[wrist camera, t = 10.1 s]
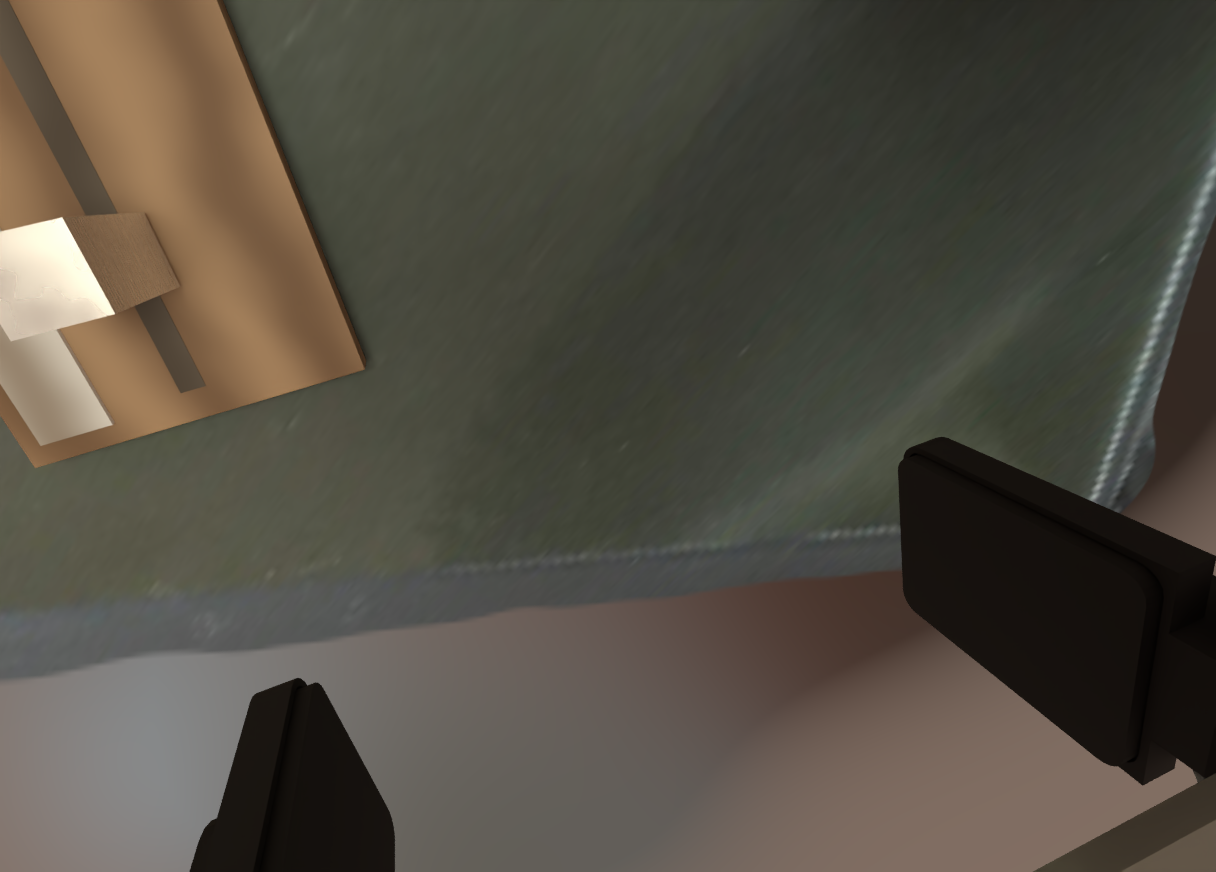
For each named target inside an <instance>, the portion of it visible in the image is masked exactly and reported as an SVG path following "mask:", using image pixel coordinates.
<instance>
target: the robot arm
mask: <svg viewBox="0 0 1216 872" xmlns="http://www.w3.org/2000/svg"><path fill="white" fill-rule="evenodd" d="M898 480H899V503H900V527H901V551H902V572H903V573H902V574H903V591H904V596H905V598H906V600H907V602H908V604H909V606H910V607H911V608H912V609H913V610H914V611H915V612H916V613H917V614H918V615H919V616H921V617H922V618H923V619H924V620H926V621H927V622H928V623H929V624H931V625H932V626H933V627H934V628H936V629H937V630H938V631H939V632H940V633H942V634H943V635H944V636H945V637H947V638H948V639H949V640H951V641H952V642H953V643H954V644H955V645H957V646H958V647H959V648H960V649H962V650H963V651H964V652H965V653H967V654H968V655H969V656H971V657H972V658H973V659H974V660H975V661H977V662H978V663H979V664H980V665H982V666H983V667H984V668H985V669H987V670H988V671H989V672H990V673H992V674H993V675H994V676H996V677H997V678H998V679H999V680H1000V681H1002V682H1003V683H1004V684H1005V685H1007V686H1008V687H1009V688H1010V689H1012V690H1013V691H1014V692H1015V693H1017V694H1018V695H1019V696H1020V697H1022V698H1023V699H1024V700H1025V701H1027V702H1028V703H1029V704H1030V705H1031V706H1033V707H1034V708H1035V709H1036V710H1038V711H1039V712H1040V713H1041V714H1043V715H1044V716H1045V717H1047V718H1048V719H1049V720H1050V721H1051V722H1053V723H1054V724H1055V725H1056V726H1058V727H1059V728H1060V729H1061V730H1063V731H1064V732H1065V733H1066V734H1068V735H1069V736H1070V737H1071V738H1073V739H1074V740H1075V741H1076V742H1078V743H1079V744H1080V745H1081V746H1083V747H1084V748H1085V749H1086V750H1087V751H1089V752H1090V753H1091V754H1092V755H1094V756H1095V757H1096V758H1098V759H1099V760H1101V761H1102V762H1103V763H1106V764H1108V765H1110V766H1119V767H1120V768H1121V769H1123V770H1124V771H1125V772H1127V773H1128V774H1129V775H1130V776H1131V777H1133V778H1134V779H1135V780H1136V781H1138V782H1139V783H1140V784H1141V785H1145V784H1147V783H1148V782H1150V781H1152V780H1154V779H1156V778H1158V777H1160V776H1161V775H1163V774H1165V773H1167V772H1169V771H1171V770H1173V769H1174V768H1175V762H1176V758H1177V759H1179V760H1180V761H1182V762H1183V763H1185V764H1186V765H1187V766H1188V767H1190V768H1191V769H1193V772H1194V774H1195V777H1196V779H1197V782H1198V783H1197V784H1195V785H1193V786H1191V787H1189V788H1188V789H1186V790H1184V791H1182V792H1180V793H1178V794H1176V795H1174V796H1173V797H1171V798H1169V799H1167V800H1165V801H1163V802H1162V803H1160V804H1158V805H1156V806H1154V807H1152V808H1150V809H1149V810H1147V811H1145V812H1143V813H1141V814H1139V815H1137V816H1135V817H1134V818H1132V819H1130V820H1128V821H1126V822H1125V823H1122V824H1121V825H1119V826H1117V827H1115V828H1113V829H1111V830H1110V831H1108V832H1106V833H1104V834H1102V835H1100V836H1099V837H1096V838H1095V839H1093V840H1091V841H1089V842H1087V843H1086V844H1084V845H1082V846H1080V847H1078V848H1076V849H1074V850H1072V851H1070V852H1069V853H1067V854H1065V855H1063V856H1061V857H1060V858H1057V859H1056V860H1054V861H1052V862H1050V863H1048V864H1046V865H1045V866H1043V867H1041V868H1039V869H1037V870H1035V871H1034V872H1216V576H1214V575H1213V571H1214V566H1215V561H1216V556H1215V555H1212V554H1210V553H1208V552H1205V551H1203V550H1201V549H1199V548H1196V547H1194V546H1192V545H1190V544H1187V543H1185V542H1183V541H1180V540H1178V539H1176V538H1173V537H1171V536H1169V535H1167V534H1165V533H1162V532H1160V531H1158V530H1155V529H1153V528H1151V527H1149V526H1146V525H1144V524H1142V523H1139V522H1137V521H1135V520H1133V519H1130V518H1128V517H1126V516H1124V515H1121V514H1119V513H1117V512H1115V511H1112V510H1110V509H1108V508H1106V507H1103V506H1101V505H1099V504H1096V503H1094V502H1092V501H1090V500H1087V499H1085V498H1083V497H1081V496H1078V495H1076V494H1074V493H1071V492H1069V491H1067V490H1065V489H1062V488H1060V487H1058V486H1056V485H1053V484H1051V483H1049V482H1046V481H1044V480H1042V479H1040V478H1037V477H1035V476H1033V475H1031V474H1028V473H1026V472H1024V471H1021V470H1019V469H1017V468H1015V467H1012V466H1010V465H1008V464H1006V463H1003V462H1001V461H999V460H996V459H994V458H992V457H990V456H987V455H985V454H983V453H981V452H978V451H976V450H974V449H972V448H969V447H967V446H965V445H962V444H960V443H958V442H956V441H953V440H951V439H949V438H945V437H938V438H935V439H932V440H929V441H927V442H924V443H921V444H919V445H916V446H913V447H911V448H909V449H908V450H906V452H905V454H904V459H903V460H902V461H901V462H900V464H899V466H898ZM190 872H395V835H394V827H393V822H392V818H391V815H390V812H389V810H388V808H387V806H386V804H385V802H384V800H383V799H382V797H381V795H380V793H379V791H378V789H377V788H376V785H375V784H374V782H373V780H372V778H371V776H370V774H369V772H368V771H367V769H366V767H365V765H364V763H363V761H362V759H361V758H360V756H359V754H358V752H357V750H356V748H355V746H354V745H353V743H352V741H351V739H350V737H349V735H348V733H347V732H346V730H345V728H344V727H343V724H342V722H341V720H340V719H339V717H338V715H337V713H336V711H335V710H334V707H333V706H332V704H331V702H330V700H329V698H328V696H327V694H326V693H325V691H324V689H323V688H322V686H321V685H320V684H319V683H313V684H311V685H308V686H307V684H306V683H305V682H304V681H303V680H302V679H300V678H296V679H294V680H291V681H288V682H285V683H283V684H280V685H277V686H275V687H272V688H269V689H267V690H264V691H261V692H259V693H256V694H255V695H254V696H253V697H252V699H251V702H250V705H249V708H248V712H247V715H246V718H245V722H244V725H243V729H242V733H241V736H240V740H239V743H238V746H237V750H236V753H235V757H234V761H233V764H232V767H231V771H230V774H229V778H228V782H227V785H226V789H225V792H224V796H223V799H222V803H221V806H220V810H219V813H218V817H217V819H214V820H212V821H211V822H210V823H209V824H208V825H207V826H206V827H205V829H204V831H203V833H202V835H201V837H200V840H199V842H198V846H197V849H196V852H195V856H194V859H193V862H192V865H191V869H190Z"/></svg>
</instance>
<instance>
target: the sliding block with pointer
mask: <svg viewBox="0 0 1216 872" xmlns="http://www.w3.org/2000/svg"><path fill="white" fill-rule="evenodd" d="M178 287H180V284H179V282H178V280H177V278H176V276H175V274H174V272H173V270H172V268H171V266H170V264H169V262H168V260H167V258H166V256H165V254H164V252H163V250H162V248H161V246H160V244H159V242H158V240H157V238H156V236H155V234H154V232H153V230H152V228H151V226H150V224H149V222H148V220H147V218H146V216H145V214H144V212H139V213H123V214H107V215H91V216H75V217H61V218H57V219H53V220H48V221H44V222H40V223H36V224H31V225H27V226H23V227H18V228H14V229H10V230H5V231H1V232H0V325H1V326H2V328H3V330H4V331H5V333H6V334H7V336H8V338H9V339H10V341H14V340H18V339H22V338H26V337H30V336H33V335H37V334H41V333H45V332H49V331H52V330H56V329H60V328H64V327H68V326H71V325H75V324H79V323H83V322H87V321H91V320H94V319H98V318H102V317H106V316H110V315H113V314H116V313H119V312H121V311H124V310H126V309H128V308H131V307H133V306H135V305H138V304H140V303H143V302H145V301H147V300H150V299H152V298H154V297H157V296H159V295H162V294H164V293H166V292H169V291H171V290H173V289H176V288H178Z"/></svg>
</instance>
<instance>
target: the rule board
mask: <svg viewBox="0 0 1216 872" xmlns="http://www.w3.org/2000/svg"><path fill="white" fill-rule="evenodd" d="M139 212H144V214H145V216H146V218H147V220H148V222H149V224H150V226H151V228H152V230H153V232H154V234H155V236H156V238H157V240H158V242H159V244H160V246H161V248H162V250H163V252H164V254H165V256H166V258H167V260H168V262H169V264H170V266H171V268H172V270H173V272H174V274H175V276H176V278H177V280H178V282H179V284H180V287H178V288H176V289H173V290H171V291H169V292H166V293H164V294H162V295H159V296H157V297H154V298H152V299H150V300H147V301H145V302H143V303H140V304H138V305H135V306H133V307H131V308H128V309H126V310H124V311H121V312H119V313H116V314H113V315H110V316H106V317H102V318H98V319H94V320H91V321H87V322H83V323H79V324H75V325H71V326H68V327H64V328H60V329H56V330H52V331H49V332H45V333H41V334H37V335H33V336H30V337H26V338H22V339H18V340H14V341H10V339H9V338H8V336H7V334H6V333H5V331H4V330H3V328H2V326H1V325H0V416H1V417H2V419H3V420H4V422H5V423H6V425H7V426H8V428H9V429H10V431H11V432H12V434H13V435H14V437H15V438H16V440H17V441H18V443H19V444H20V446H21V447H22V449H23V450H24V452H25V453H26V455H27V456H28V458H29V459H30V461H31V462H32V464H33V465H34V467H35V468H37V467H40V466H43V465H47V464H50V463H53V462H57V461H60V460H64V459H67V458H70V457H74V456H77V455H80V454H84V453H87V452H90V451H94V450H97V449H100V448H104V447H107V446H110V445H114V444H117V443H120V442H124V441H127V440H131V439H134V438H137V437H141V436H144V435H147V434H151V433H154V432H157V431H161V430H164V429H167V428H171V427H174V426H177V425H181V424H184V423H188V422H191V421H194V420H198V419H201V418H204V417H208V416H211V415H214V414H218V413H221V412H224V411H228V410H231V409H234V408H238V407H241V406H244V405H248V404H251V403H255V402H258V401H261V400H265V399H268V398H271V397H275V396H278V395H281V394H285V393H288V392H291V391H295V390H298V389H301V388H305V387H308V386H311V385H315V384H318V383H322V382H325V381H328V380H332V379H335V378H338V377H342V376H345V375H348V374H352V373H355V372H358V371H362V370H365V366H366V359H365V357H364V354H363V352H362V349H361V347H360V344H359V342H358V339H357V336H356V334H355V331H354V329H353V326H352V324H351V321H350V319H349V316H348V314H347V311H346V309H345V306H344V304H343V301H342V299H341V296H340V294H339V291H338V289H337V286H336V284H335V281H334V279H333V276H332V274H331V271H330V269H329V266H328V264H327V261H326V259H325V256H324V254H323V251H322V249H321V246H320V244H319V241H318V238H317V236H316V233H315V231H314V228H313V226H312V223H311V221H310V218H309V216H308V213H307V211H306V208H305V206H304V203H303V201H302V198H301V196H300V193H299V191H298V188H297V186H296V183H295V181H294V178H293V176H292V173H291V171H290V168H289V166H288V163H287V161H286V158H285V156H284V153H283V151H282V148H281V146H280V143H279V140H278V138H277V135H276V133H275V130H274V128H273V125H272V123H271V120H270V118H269V115H268V113H267V110H266V108H265V105H264V103H263V100H262V98H261V95H260V93H259V90H258V88H257V85H256V83H255V80H254V78H253V75H252V73H251V70H250V68H249V65H248V63H247V60H246V58H245V55H244V53H243V50H242V48H241V45H240V42H239V40H238V37H237V35H236V32H235V30H234V27H233V25H232V22H231V20H230V17H229V15H228V12H227V10H226V7H225V5H224V2H223V0H0V232H1V231H5V230H10V229H14V228H18V227H23V226H27V225H31V224H36V223H40V222H44V221H48V220H53V219H57V218H61V217H75V216H91V215H107V214H123V213H139Z"/></svg>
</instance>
